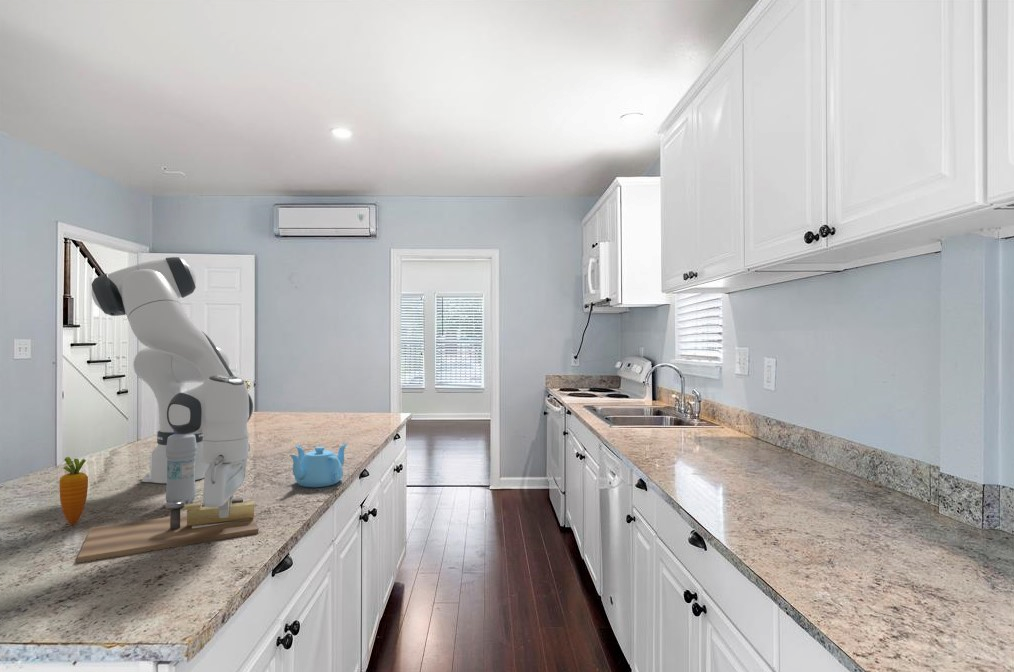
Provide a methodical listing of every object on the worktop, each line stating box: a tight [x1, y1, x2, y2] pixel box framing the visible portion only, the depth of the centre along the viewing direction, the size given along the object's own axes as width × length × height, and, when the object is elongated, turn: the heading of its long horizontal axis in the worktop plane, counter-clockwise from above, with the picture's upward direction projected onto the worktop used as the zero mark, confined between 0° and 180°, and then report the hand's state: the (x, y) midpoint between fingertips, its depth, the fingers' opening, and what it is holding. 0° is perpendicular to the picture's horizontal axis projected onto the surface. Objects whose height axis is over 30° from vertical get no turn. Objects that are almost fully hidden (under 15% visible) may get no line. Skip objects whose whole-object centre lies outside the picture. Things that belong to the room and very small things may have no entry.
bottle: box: [165, 431, 197, 504], centre depth 133 cm, size 7×7×20 cm
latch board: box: [77, 497, 260, 563], centre depth 113 cm, size 18×30×5 cm, turn 121°
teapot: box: [289, 442, 349, 488], centre depth 153 cm, size 15×15×10 cm
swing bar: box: [165, 500, 255, 526], centre depth 116 cm, size 17×4×5 cm, turn 116°
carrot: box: [58, 456, 89, 527], centre depth 117 cm, size 5×5×15 cm
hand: (225, 516), depth 115 cm, fingers closed
